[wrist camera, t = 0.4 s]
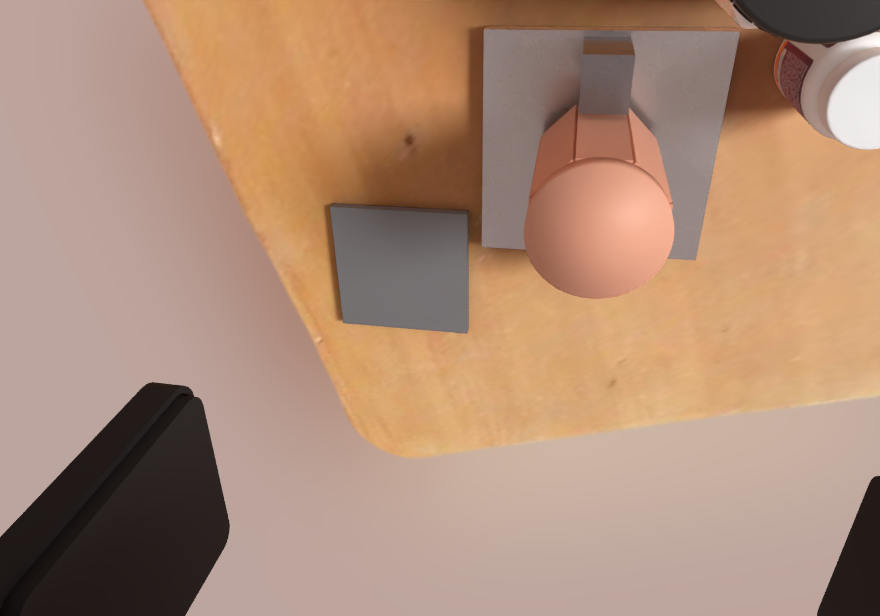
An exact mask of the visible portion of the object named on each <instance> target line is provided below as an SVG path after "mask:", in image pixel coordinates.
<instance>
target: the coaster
mask: <svg viewBox="0 0 880 616" xmlns="http://www.w3.org/2000/svg"><path fill="white" fill-rule="evenodd" d="M330 213H331V221H332V230H333V238H334V247H335V255H336V264H337V273H338V281H339V290H340V298H341V307H342V315H343V323H348V324H360V325H372V326H384V327H396V328H408V329H419V330H431V331H443V332H455V333H468V329H469V259H468V211H466V210H448V209H429V208H410V207H392V206H373V205H355V204H336V203H333V204H332V205H331V206H330Z"/></svg>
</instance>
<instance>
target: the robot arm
mask: <svg viewBox="0 0 880 616" xmlns="http://www.w3.org/2000/svg"><path fill="white" fill-rule="evenodd" d="M229 527H230V525H229V519H228V514H227V510H226V505H225V501H224V497H223V492H222V487H221V483H220V478H219V474H218V469H217V465H216V460H215V456H214V451H213V447H212V443H211V438H210V433H209V429H208V424H207V420H206V415H205V411H204V406H203V403H202V401H201V399H200V398H198V397H194V395H193V392H192V390H191V389H190V388H189V387H186V386H180V385H172V384H163V383H154V382H152V383H148V384H146V385H145V386H144V387H143V388H142V389H140V391H139V392H138V393H137V394H136V395H135V396H134V397H133V398H132V399H131V400H130V401H129V402H128V403H127V404H126V405H125V406H124V408H123V409H122V410H121V411H120V412H119V413H118V414H117V415H116V416H115V417H114V418H113V419H112V420H111V421H110V422H109V423H108V424H107V425H106V427H104V429H103V430H102V431H101V432H100V433H99V434H98V435H97V436H96V437H95V438H94V439H93V440H92V441H91V442H90V443H89V444H88V445H87V446H86V448H85V449H84V450H83V451H82V452H81V453H80V454H79V455H78V456H77V457H76V458H75V459H74V460H73V461H72V462H71V463H70V464H69V465H68V466H67V467H66V469H65V470H64V471H63V472H62V473H61V474H60V475H59V476H58V477H57V478H56V479H55V480H54V481H53V482H52V483H51V484H50V485H49V487H47V489H46V490H45V491H44V492H43V493H42V494H41V495H40V496H39V497H38V498H37V499H36V500H35V501H34V502H33V503H32V504H31V506H29V508H28V509H27V510H26V511H25V512H24V513H23V514H22V515H21V516H20V517H19V518H18V519H17V520H16V521H15V522H14V523H13V524H12V525H11V526H10V528H9V529H8V530H7V531H6V532H5V533H4V534H3V535H2V536H1V537H0V616H185V615H186V613H187V611H188V610H189V608H190V606H191V604H192V603H193V601H194V599H195V598H196V595H197V594H198V592H199V591H200V589H201V587H202V585H203V584H204V582H205V580H206V578H207V577H208V575H209V573H210V572H211V570H212V568H213V566H214V565H215V563H216V561H217V560H218V558H219V556H220V554H221V553H222V551H223V549H224V547H225V545H226V543H227V539H228V535H229ZM817 616H880V476H875V477H874V478H873V479H872V480H871V482H870V483H869V486H868V488H867V491H866V493H865V496H864V498H863V500H862V503H861V505H860V508H859V511H858V513H857V515H856V518H855V520H854V523H853V525H852V528H851V530H850V533H849V535H848V538H847V540H846V543H845V545H844V547H843V550H842V552H841V555H840V557H839V560H838V562H837V565H836V567H835V570H834V572H833V574H832V577H831V579H830V582H829V584H828V587H827V589H826V592H825V594H824V597H823V599H822V602H821V604H820V606H819V609H818V613H817Z"/></svg>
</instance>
